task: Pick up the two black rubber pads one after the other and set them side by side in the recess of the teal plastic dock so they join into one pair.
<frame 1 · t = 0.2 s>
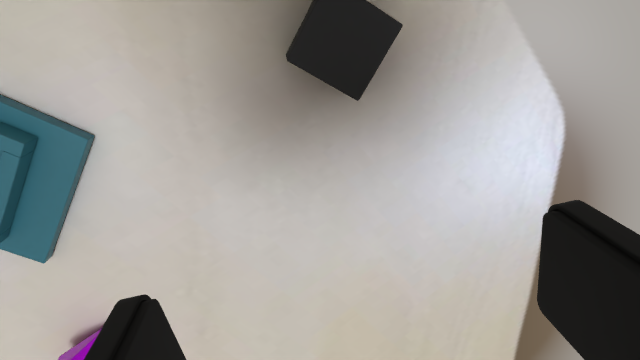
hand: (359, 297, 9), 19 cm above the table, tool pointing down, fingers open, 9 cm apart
crystal: (107, 344, 33), on the table
pad a: (336, 40, 24), on the table
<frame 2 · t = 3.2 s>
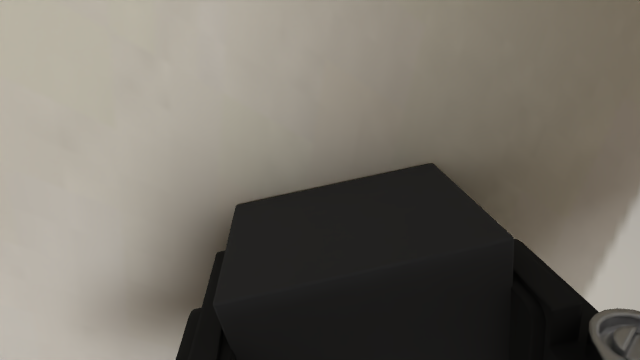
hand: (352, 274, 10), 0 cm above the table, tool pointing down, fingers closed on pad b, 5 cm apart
pad b: (349, 264, 10), on the table, touching gripper
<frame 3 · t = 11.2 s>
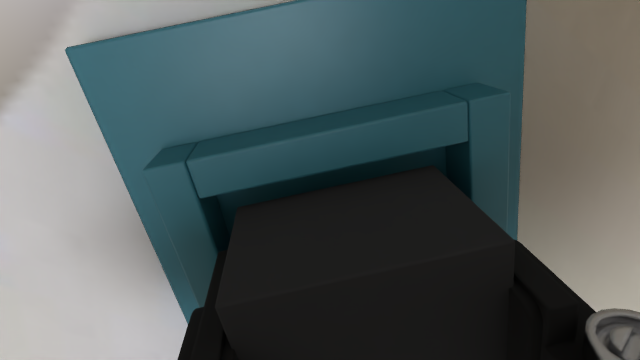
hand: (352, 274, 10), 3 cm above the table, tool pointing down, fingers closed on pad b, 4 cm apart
pad b: (350, 265, 10), point 2 cm above the table, touching gripper
dock: (352, 290, 13), on the table
when the fingers open (3 cm above the table, at t = 17.2 s): pad b drops 2 cm, resting on dock.
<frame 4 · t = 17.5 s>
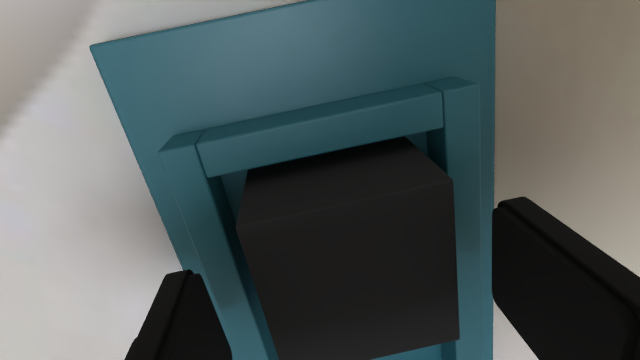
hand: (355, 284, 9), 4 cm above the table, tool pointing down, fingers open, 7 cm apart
pad b: (339, 220, 12), point 1 cm above the table, touching dock
dock: (345, 268, 14), on the table
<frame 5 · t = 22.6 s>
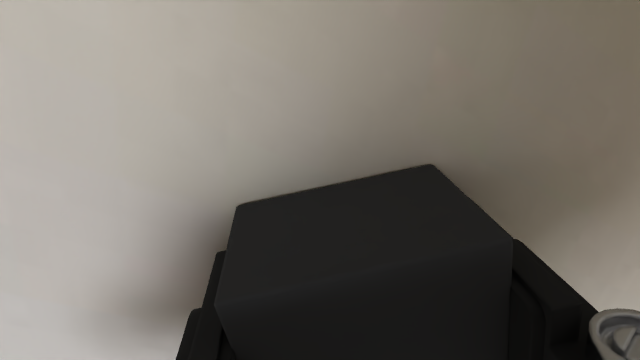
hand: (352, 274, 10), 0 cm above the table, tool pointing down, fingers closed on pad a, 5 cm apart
pad a: (349, 264, 10), on the table, touching gripper
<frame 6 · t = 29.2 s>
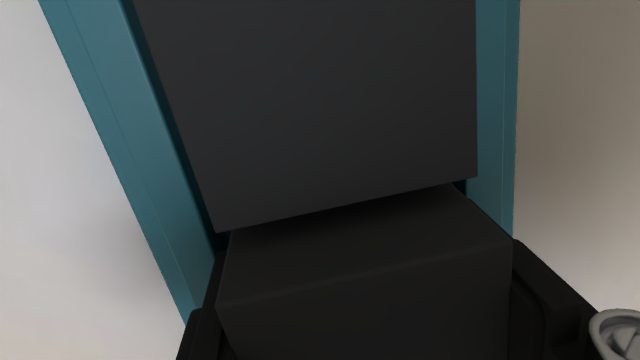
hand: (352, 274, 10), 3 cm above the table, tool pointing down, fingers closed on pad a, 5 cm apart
pad b: (307, 52, 9), point 1 cm above the table, touching dock
pad a: (350, 265, 10), point 2 cm above the table, touching gripper
dock: (320, 145, 11), on the table
when the fingers open (4 cm above the table, at t = 36.3 s): pad a drops 2 cm, resting on dock.
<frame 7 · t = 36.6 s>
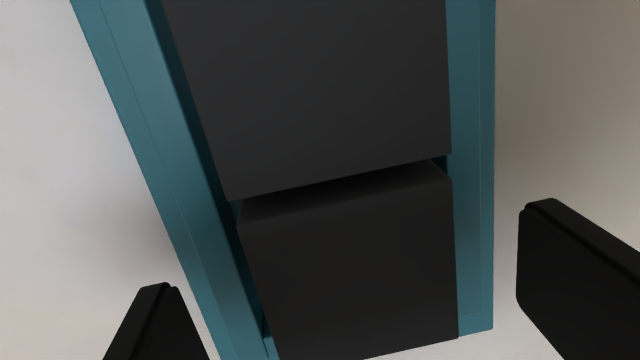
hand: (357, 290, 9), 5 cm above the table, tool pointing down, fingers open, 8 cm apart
pad b: (306, 47, 10), point 1 cm above the table, touching dock
pad a: (339, 220, 12), point 1 cm above the table, touching dock
dock: (318, 133, 12), on the table
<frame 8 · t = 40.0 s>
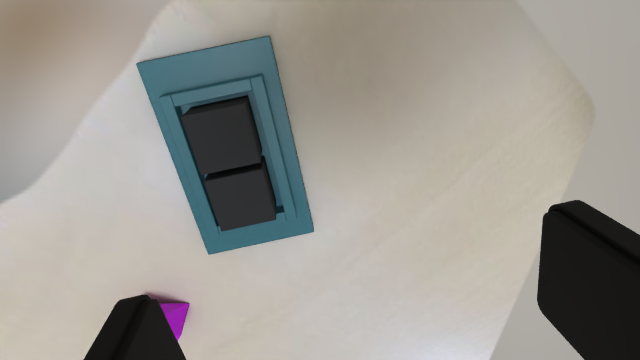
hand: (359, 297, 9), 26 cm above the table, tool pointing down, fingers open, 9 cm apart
crystal: (161, 310, 41), on the table
pad b: (227, 128, 32), point 1 cm above the table, touching dock
pad a: (244, 185, 35), point 1 cm above the table, touching dock
dock: (236, 154, 34), on the table
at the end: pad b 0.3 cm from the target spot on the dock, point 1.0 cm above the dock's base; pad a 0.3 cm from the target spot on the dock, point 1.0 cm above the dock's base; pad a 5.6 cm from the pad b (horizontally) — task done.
